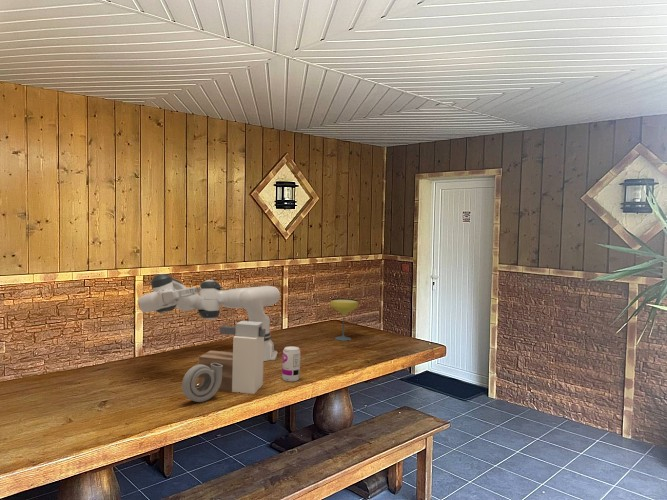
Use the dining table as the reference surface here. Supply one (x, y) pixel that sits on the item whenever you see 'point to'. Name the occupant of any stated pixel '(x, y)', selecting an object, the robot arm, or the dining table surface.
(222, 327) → the metal bar
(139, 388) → the dining table surface
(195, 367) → the turbocharger housing
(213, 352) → the step
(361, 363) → the dining table surface
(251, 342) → the stand
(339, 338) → the cocktail glass
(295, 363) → the supplement can
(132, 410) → the dining table surface
